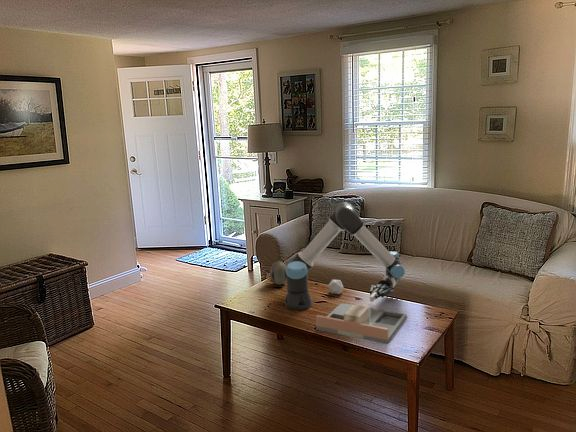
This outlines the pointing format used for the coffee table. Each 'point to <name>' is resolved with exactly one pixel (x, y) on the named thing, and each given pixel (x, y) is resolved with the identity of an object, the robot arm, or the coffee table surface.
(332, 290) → the die
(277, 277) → the decorative egg
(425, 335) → the coffee table surface
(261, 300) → the coffee table surface
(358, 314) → the block
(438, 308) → the coffee table surface
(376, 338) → the box
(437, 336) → the coffee table surface
